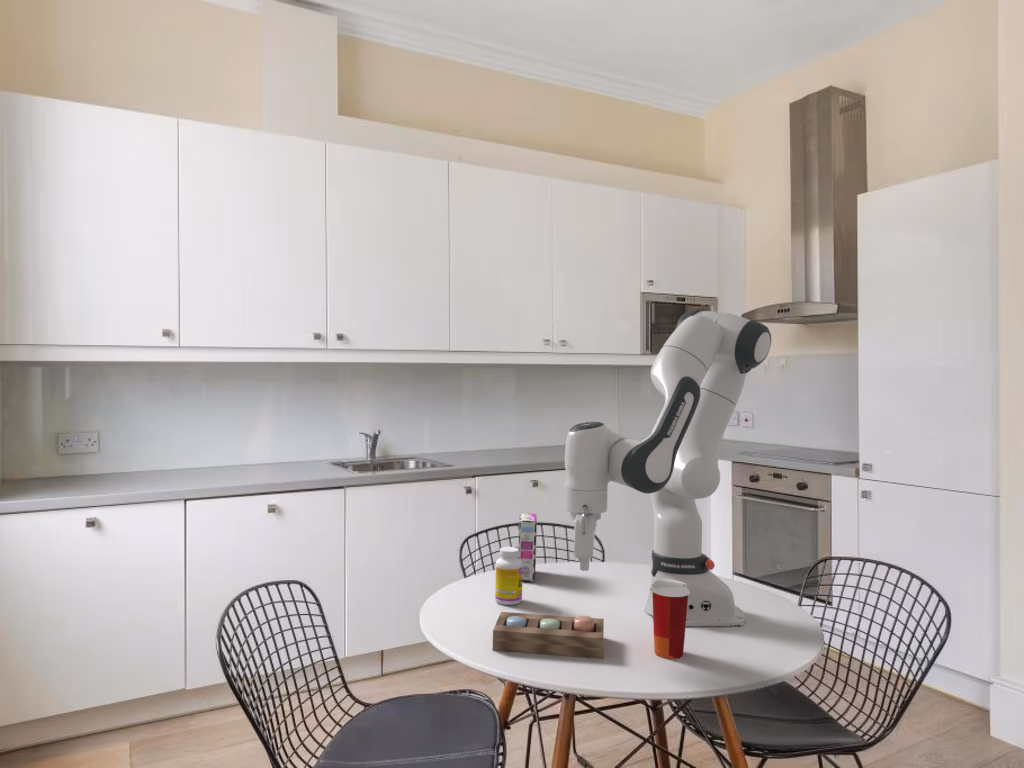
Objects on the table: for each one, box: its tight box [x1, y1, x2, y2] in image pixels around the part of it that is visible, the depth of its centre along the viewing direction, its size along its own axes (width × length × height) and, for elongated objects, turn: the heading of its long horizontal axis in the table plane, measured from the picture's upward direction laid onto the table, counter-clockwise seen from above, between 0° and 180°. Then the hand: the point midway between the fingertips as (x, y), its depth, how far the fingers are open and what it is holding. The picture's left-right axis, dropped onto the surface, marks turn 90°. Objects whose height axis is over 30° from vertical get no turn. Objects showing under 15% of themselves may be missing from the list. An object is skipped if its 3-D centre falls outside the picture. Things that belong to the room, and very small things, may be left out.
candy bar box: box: [517, 513, 538, 583], centre depth 189 cm, size 11×5×16 cm, turn 178°
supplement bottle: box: [494, 546, 523, 606], centre depth 168 cm, size 7×7×13 cm
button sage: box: [540, 619, 560, 629], centre depth 142 cm, size 4×4×2 cm
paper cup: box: [649, 579, 690, 660], centre depth 138 cm, size 8×8×14 cm
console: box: [492, 611, 605, 659], centre depth 142 cm, size 22×11×4 cm, turn 82°
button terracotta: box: [574, 615, 594, 632], centre depth 141 cm, size 4×4×2 cm
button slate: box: [507, 616, 526, 627], centre depth 143 cm, size 4×4×2 cm
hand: (584, 568), depth 141 cm, fingers closed
